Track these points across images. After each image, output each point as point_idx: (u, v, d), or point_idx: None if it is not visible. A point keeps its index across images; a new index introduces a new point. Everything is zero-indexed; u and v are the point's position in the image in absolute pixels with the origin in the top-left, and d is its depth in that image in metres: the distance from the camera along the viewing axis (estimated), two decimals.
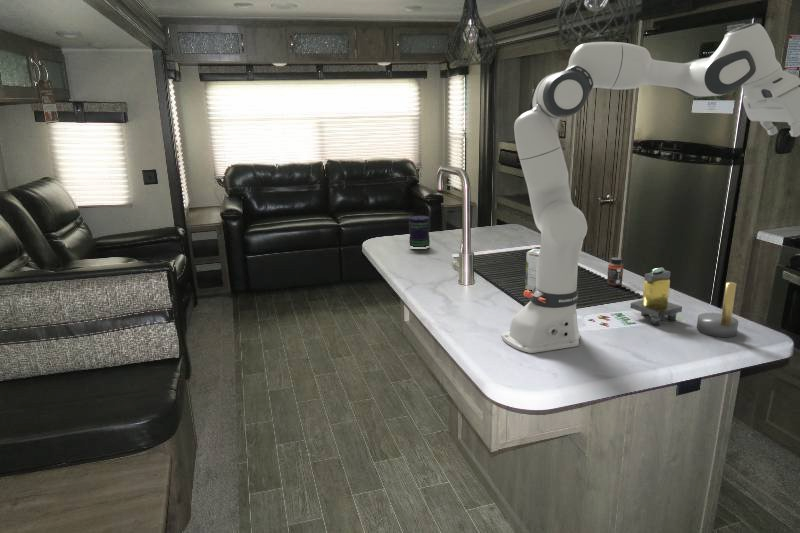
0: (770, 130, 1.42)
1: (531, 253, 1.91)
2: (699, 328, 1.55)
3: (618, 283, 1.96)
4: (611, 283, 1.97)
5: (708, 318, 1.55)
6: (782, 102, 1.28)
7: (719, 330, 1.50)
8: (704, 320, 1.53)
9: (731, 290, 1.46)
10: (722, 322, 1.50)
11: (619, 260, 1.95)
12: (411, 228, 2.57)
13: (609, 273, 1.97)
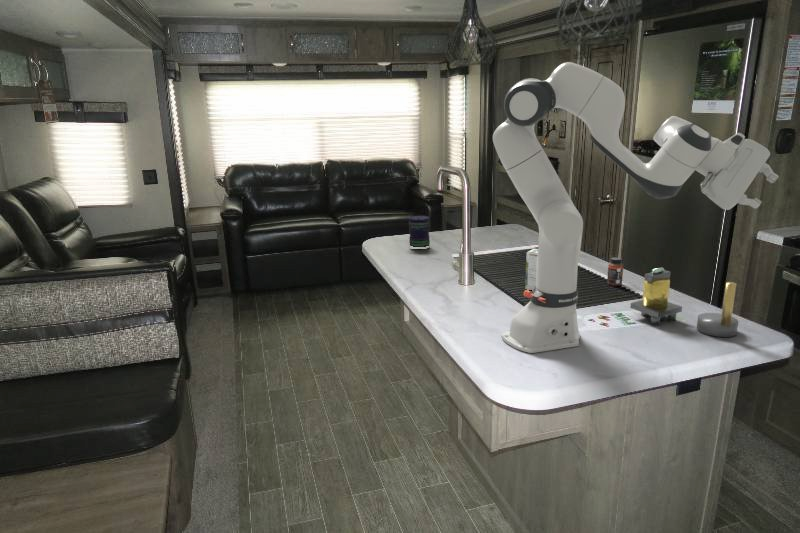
0: None
1: (531, 253, 1.91)
2: (699, 328, 1.55)
3: (618, 283, 1.96)
4: (611, 283, 1.97)
5: (708, 318, 1.55)
6: (750, 140, 1.36)
7: (719, 330, 1.50)
8: (704, 320, 1.53)
9: (731, 290, 1.46)
10: (722, 322, 1.50)
11: (619, 260, 1.95)
12: (411, 228, 2.57)
13: (609, 273, 1.97)
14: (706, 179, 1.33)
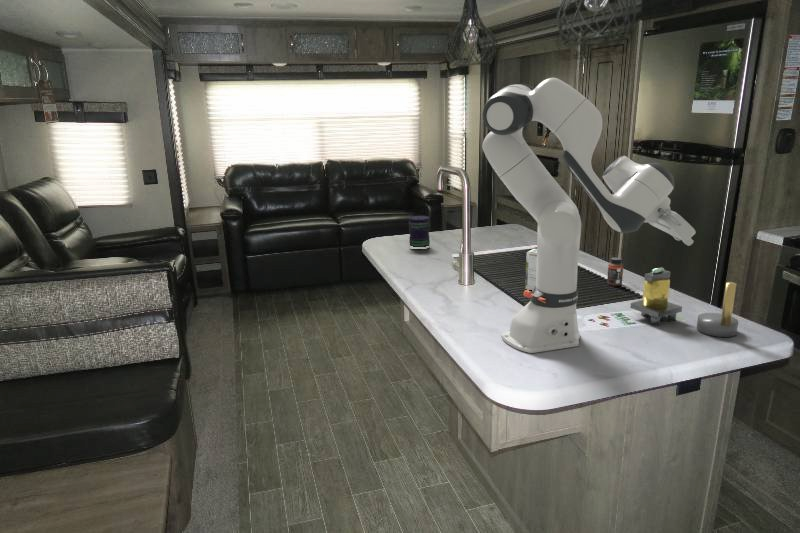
0: None
1: (531, 253, 1.91)
2: (699, 328, 1.55)
3: (618, 283, 1.96)
4: (611, 283, 1.97)
5: (708, 318, 1.55)
6: None
7: (719, 330, 1.50)
8: (704, 320, 1.53)
9: (731, 290, 1.46)
10: (722, 322, 1.50)
11: (619, 260, 1.95)
12: (411, 228, 2.57)
13: (609, 273, 1.97)
14: (665, 211, 1.37)
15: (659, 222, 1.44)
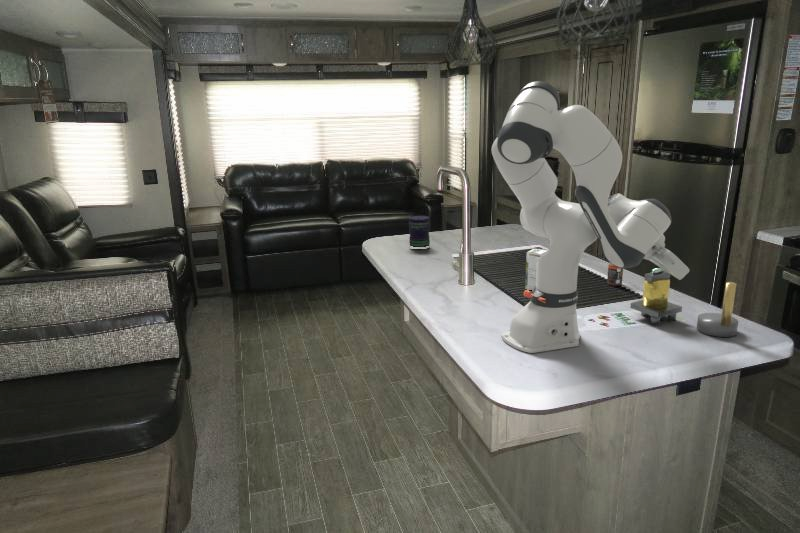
0: None
1: (531, 253, 1.91)
2: (699, 328, 1.55)
3: (618, 283, 1.96)
4: (611, 283, 1.97)
5: (708, 318, 1.55)
6: None
7: (719, 330, 1.50)
8: (704, 320, 1.53)
9: (731, 290, 1.46)
10: (722, 322, 1.50)
11: None
12: (411, 228, 2.57)
13: (609, 273, 1.97)
14: (659, 249, 1.38)
15: (654, 258, 1.45)
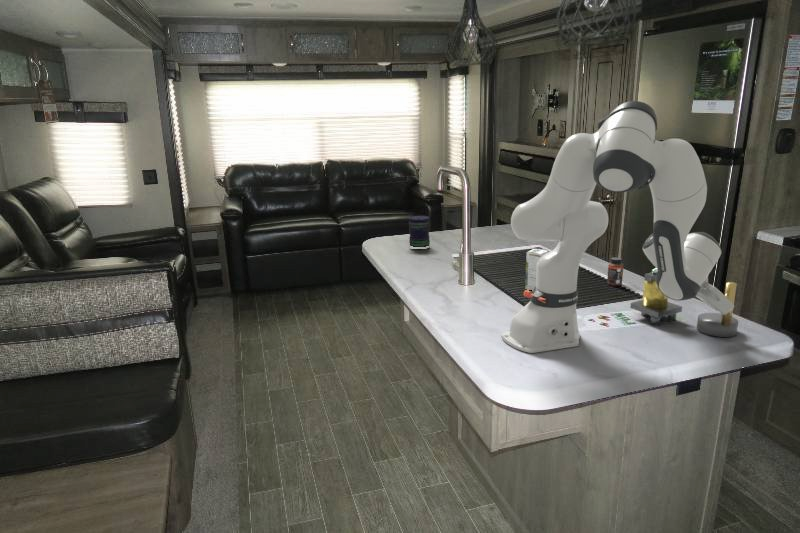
0: None
1: (531, 253, 1.91)
2: (699, 328, 1.54)
3: (618, 283, 1.96)
4: (611, 283, 1.97)
5: (708, 318, 1.54)
6: None
7: (719, 330, 1.50)
8: (704, 320, 1.53)
9: (731, 290, 1.46)
10: (722, 322, 1.50)
11: (619, 260, 1.95)
12: (411, 228, 2.57)
13: (609, 273, 1.97)
14: (704, 285, 1.40)
15: None
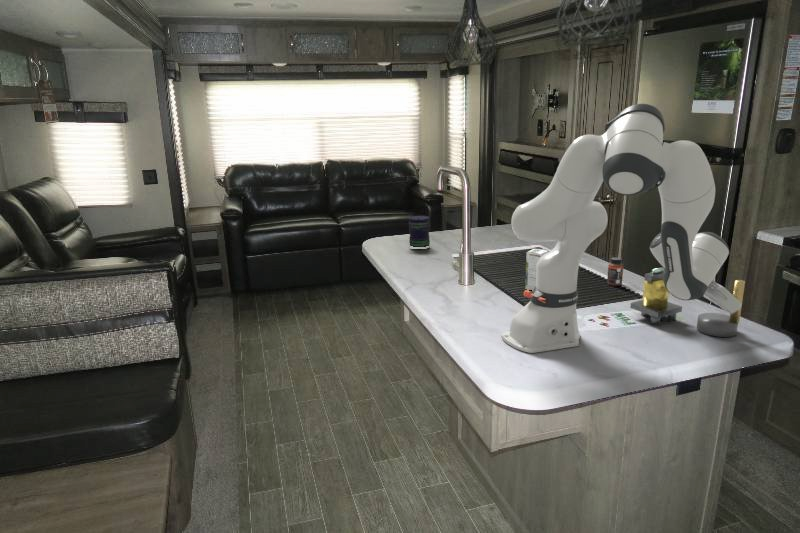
0: None
1: (531, 253, 1.91)
2: (715, 333, 1.51)
3: (618, 283, 1.96)
4: (611, 283, 1.97)
5: (714, 321, 1.52)
6: None
7: (735, 329, 1.50)
8: (718, 324, 1.50)
9: (743, 288, 1.48)
10: (735, 320, 1.50)
11: (619, 260, 1.95)
12: (411, 228, 2.57)
13: (609, 273, 1.97)
14: (712, 284, 1.41)
15: None
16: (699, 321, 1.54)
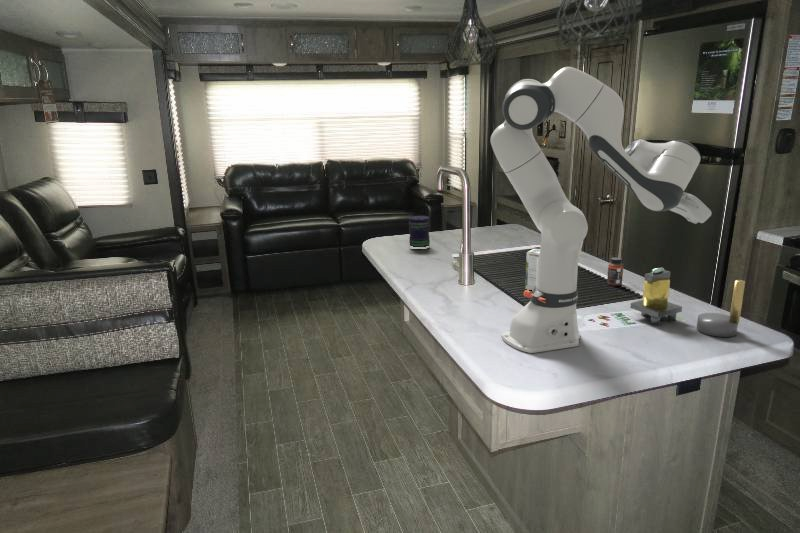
0: None
1: (531, 253, 1.91)
2: (715, 333, 1.51)
3: (618, 283, 1.96)
4: (611, 283, 1.97)
5: (714, 321, 1.52)
6: None
7: (735, 329, 1.50)
8: (718, 324, 1.50)
9: (743, 288, 1.48)
10: (735, 320, 1.50)
11: (619, 260, 1.95)
12: (411, 228, 2.57)
13: (609, 273, 1.97)
14: (683, 194, 1.37)
15: None
16: (699, 321, 1.54)
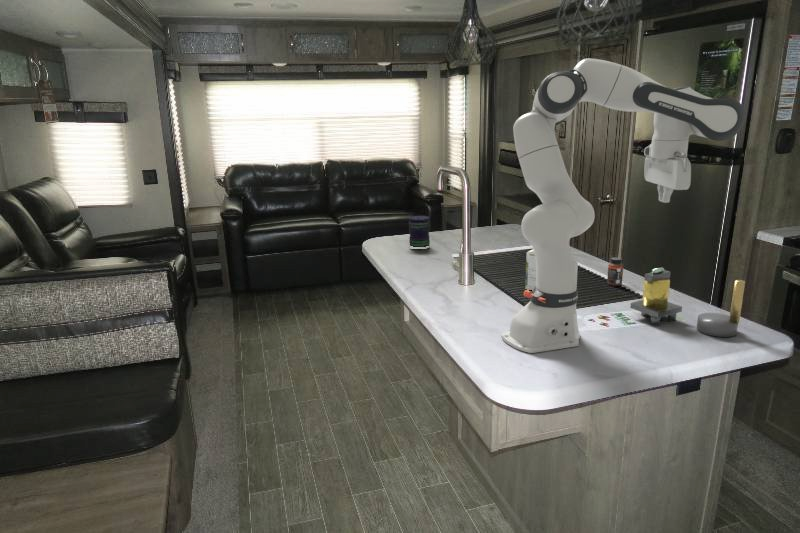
0: None
1: (531, 253, 1.91)
2: (715, 333, 1.51)
3: (618, 283, 1.96)
4: (611, 283, 1.97)
5: (714, 321, 1.52)
6: None
7: (735, 329, 1.50)
8: (718, 324, 1.50)
9: (743, 288, 1.48)
10: (735, 320, 1.50)
11: (619, 260, 1.95)
12: (411, 228, 2.57)
13: (609, 273, 1.97)
14: None
15: (662, 168, 1.46)
16: (699, 321, 1.54)
